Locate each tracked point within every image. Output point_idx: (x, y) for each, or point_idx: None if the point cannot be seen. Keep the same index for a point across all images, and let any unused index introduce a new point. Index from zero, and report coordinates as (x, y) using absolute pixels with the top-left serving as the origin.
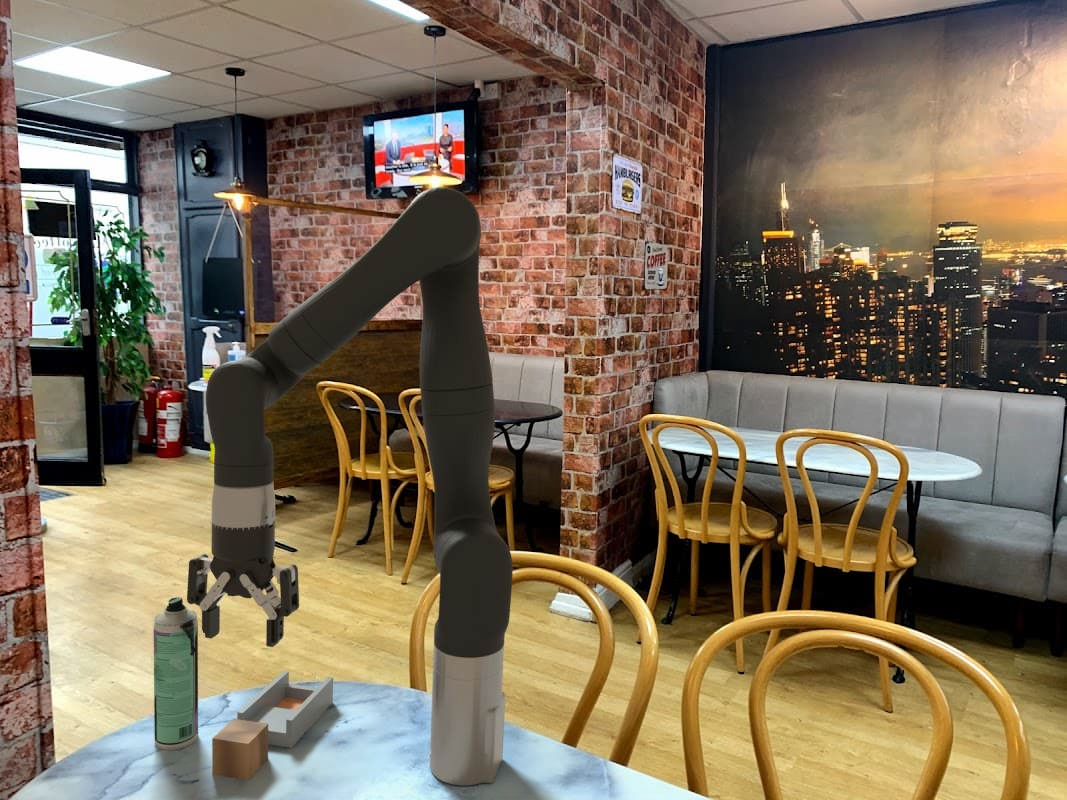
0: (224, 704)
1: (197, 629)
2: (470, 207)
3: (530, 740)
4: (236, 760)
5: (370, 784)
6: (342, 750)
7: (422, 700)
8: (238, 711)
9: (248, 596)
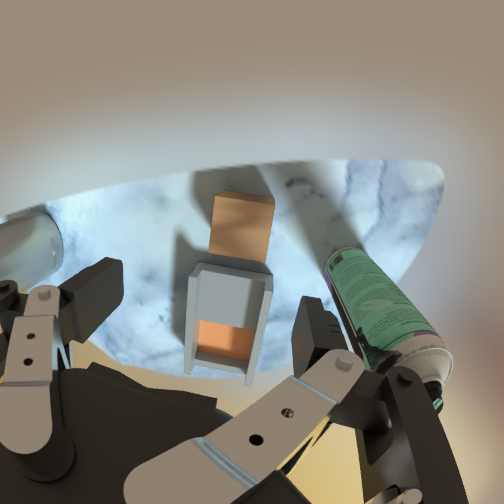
0: None
1: None
2: None
3: None
4: (238, 195)
5: (96, 201)
6: (141, 261)
7: (110, 352)
8: (272, 294)
9: (95, 371)
